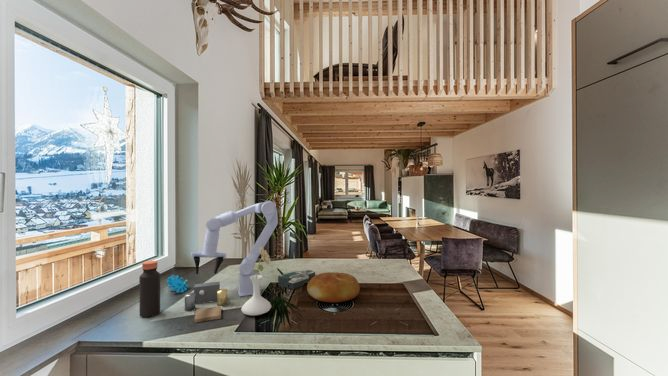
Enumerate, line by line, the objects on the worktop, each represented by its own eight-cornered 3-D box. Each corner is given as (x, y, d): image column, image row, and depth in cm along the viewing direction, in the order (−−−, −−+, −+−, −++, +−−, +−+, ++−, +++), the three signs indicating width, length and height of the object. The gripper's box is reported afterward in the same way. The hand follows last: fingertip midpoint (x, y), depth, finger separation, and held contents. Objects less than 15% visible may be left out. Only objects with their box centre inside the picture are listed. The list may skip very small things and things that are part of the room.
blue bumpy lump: (175, 293, 127) (164, 275, 130) (166, 302, 128) (156, 284, 131) (194, 288, 138) (183, 272, 141) (186, 296, 138) (176, 280, 141)
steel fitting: (196, 306, 117) (196, 291, 117) (195, 310, 113) (195, 295, 113) (185, 308, 115) (185, 293, 115) (184, 312, 112) (184, 296, 112)
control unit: (219, 296, 127) (219, 281, 127) (219, 301, 123) (219, 284, 123) (194, 300, 123) (194, 284, 123) (193, 304, 119) (193, 287, 119)
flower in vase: (260, 320, 104) (260, 252, 104) (234, 315, 108) (234, 250, 108) (279, 306, 117) (278, 245, 117) (255, 302, 121) (255, 243, 121)
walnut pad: (221, 308, 114) (221, 306, 114) (221, 318, 106) (221, 315, 106) (196, 312, 111) (196, 309, 111) (194, 322, 103) (194, 319, 103)
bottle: (155, 317, 107) (155, 264, 107) (135, 318, 106) (135, 265, 106) (163, 309, 114) (163, 259, 114) (144, 310, 113) (144, 260, 113)
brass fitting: (227, 302, 121) (227, 288, 121) (227, 305, 118) (227, 291, 118) (217, 303, 120) (217, 289, 120) (217, 307, 116) (217, 292, 116)
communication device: (322, 278, 155) (322, 261, 155) (294, 291, 135) (294, 272, 135) (304, 274, 162) (304, 258, 162) (275, 286, 141) (275, 268, 141)
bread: (325, 284, 145) (325, 264, 145) (367, 292, 133) (367, 271, 133) (297, 299, 125) (297, 276, 125) (344, 310, 113) (344, 285, 113)
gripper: (226, 242, 137) (221, 270, 136) (192, 240, 129) (187, 270, 129) (228, 245, 130) (223, 275, 130) (193, 244, 123) (188, 275, 123)
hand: (206, 273), depth 129 cm, fingers open, 7 cm apart
